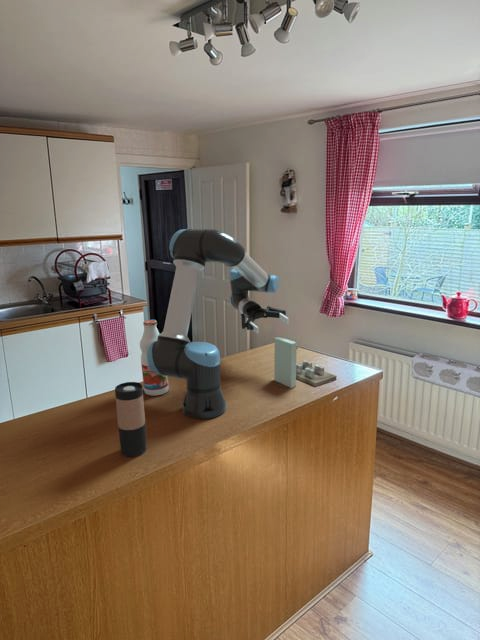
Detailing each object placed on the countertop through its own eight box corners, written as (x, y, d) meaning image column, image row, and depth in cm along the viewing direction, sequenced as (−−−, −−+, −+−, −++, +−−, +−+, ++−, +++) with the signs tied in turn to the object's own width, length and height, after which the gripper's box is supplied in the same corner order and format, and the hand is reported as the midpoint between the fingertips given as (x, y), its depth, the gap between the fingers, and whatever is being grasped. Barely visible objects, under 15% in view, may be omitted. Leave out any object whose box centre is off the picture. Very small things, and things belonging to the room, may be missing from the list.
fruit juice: (172, 386, 172) (166, 318, 165) (163, 396, 163) (156, 324, 156) (150, 385, 174) (143, 317, 167) (140, 395, 165) (132, 324, 158)
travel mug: (115, 450, 127) (109, 387, 122) (138, 441, 132) (133, 379, 127) (129, 461, 122) (123, 394, 117) (152, 450, 127) (147, 386, 122)
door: (272, 379, 178) (273, 337, 174) (279, 377, 181) (280, 335, 176) (291, 387, 170) (291, 343, 165) (298, 385, 172) (298, 342, 167)
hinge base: (281, 372, 186) (281, 362, 185) (301, 366, 193) (302, 356, 192) (315, 386, 171) (315, 375, 169) (336, 379, 177) (336, 369, 176)
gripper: (275, 309, 196) (300, 326, 178) (224, 324, 187) (245, 343, 169) (274, 294, 193) (299, 309, 175) (222, 308, 184) (243, 326, 166)
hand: (273, 326), depth 172 cm, fingers open, 13 cm apart
